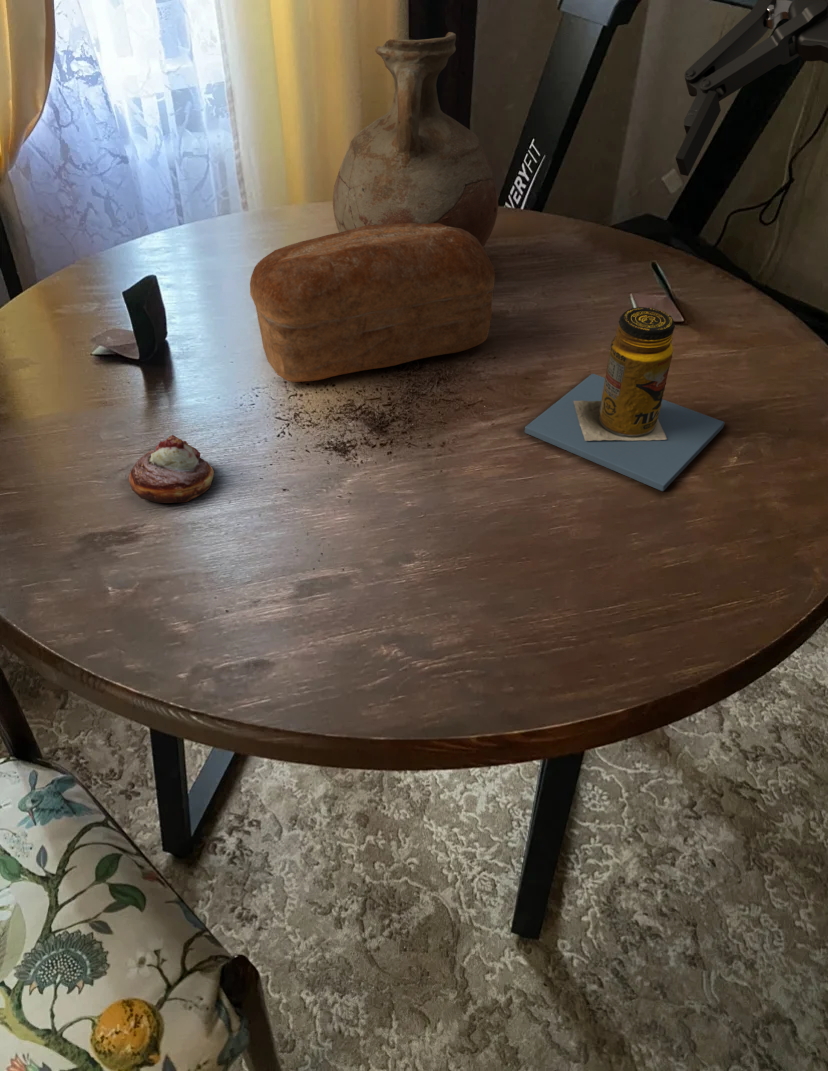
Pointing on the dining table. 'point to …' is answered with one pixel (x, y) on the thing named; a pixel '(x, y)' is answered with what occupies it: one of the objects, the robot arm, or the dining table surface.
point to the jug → (416, 155)
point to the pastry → (171, 473)
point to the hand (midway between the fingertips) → (754, 183)
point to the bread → (372, 299)
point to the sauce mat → (630, 458)
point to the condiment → (632, 380)
